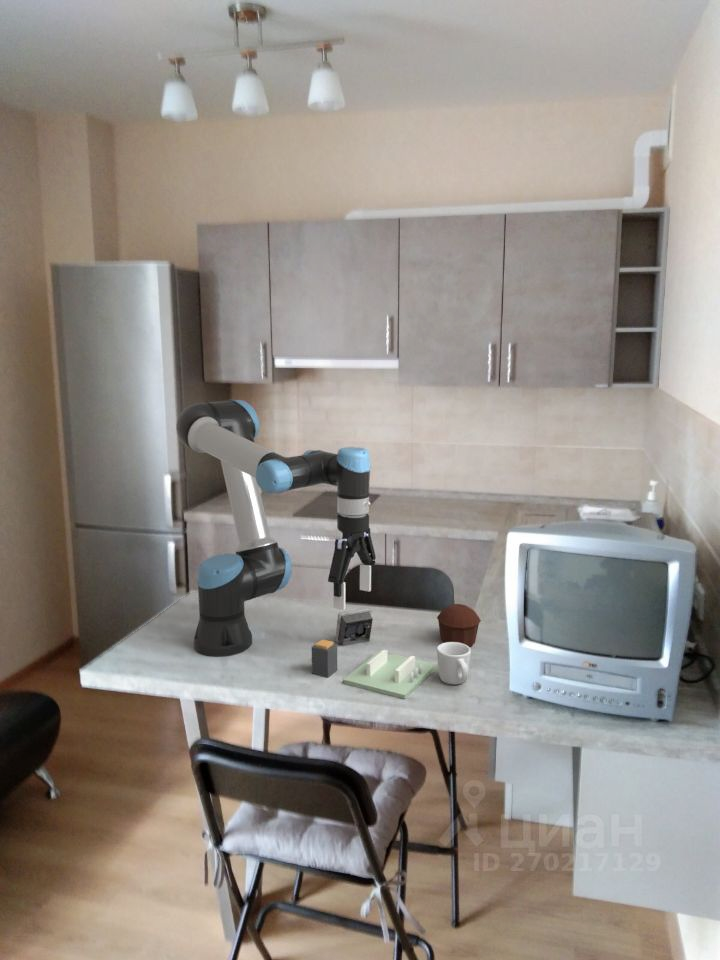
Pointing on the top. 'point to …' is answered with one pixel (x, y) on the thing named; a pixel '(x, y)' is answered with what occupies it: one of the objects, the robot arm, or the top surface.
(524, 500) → the top surface
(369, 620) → the electrical switch
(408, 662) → the board
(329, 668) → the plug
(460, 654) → the cup
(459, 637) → the muffin
